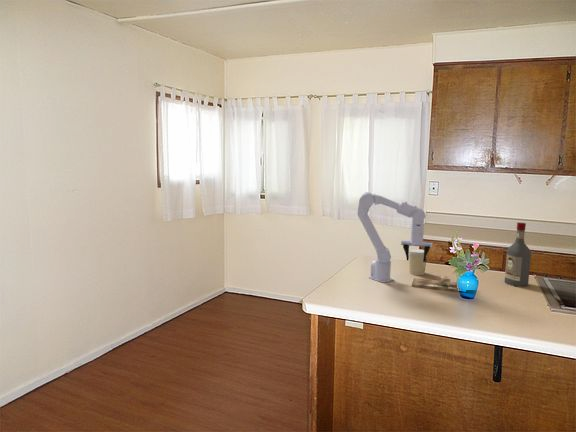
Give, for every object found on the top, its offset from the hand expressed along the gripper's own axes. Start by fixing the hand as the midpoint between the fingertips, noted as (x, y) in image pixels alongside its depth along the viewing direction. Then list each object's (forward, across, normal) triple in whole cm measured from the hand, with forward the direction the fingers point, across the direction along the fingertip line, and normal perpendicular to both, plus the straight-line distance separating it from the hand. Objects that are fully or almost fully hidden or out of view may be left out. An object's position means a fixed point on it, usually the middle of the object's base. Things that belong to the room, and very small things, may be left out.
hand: (415, 260), depth 213 cm
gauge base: (+10, +11, -3) cm, 16 cm away
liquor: (+11, +46, +17) cm, 50 cm away
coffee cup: (+11, 0, +17) cm, 20 cm away
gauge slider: (+9, +14, -5) cm, 17 cm away
